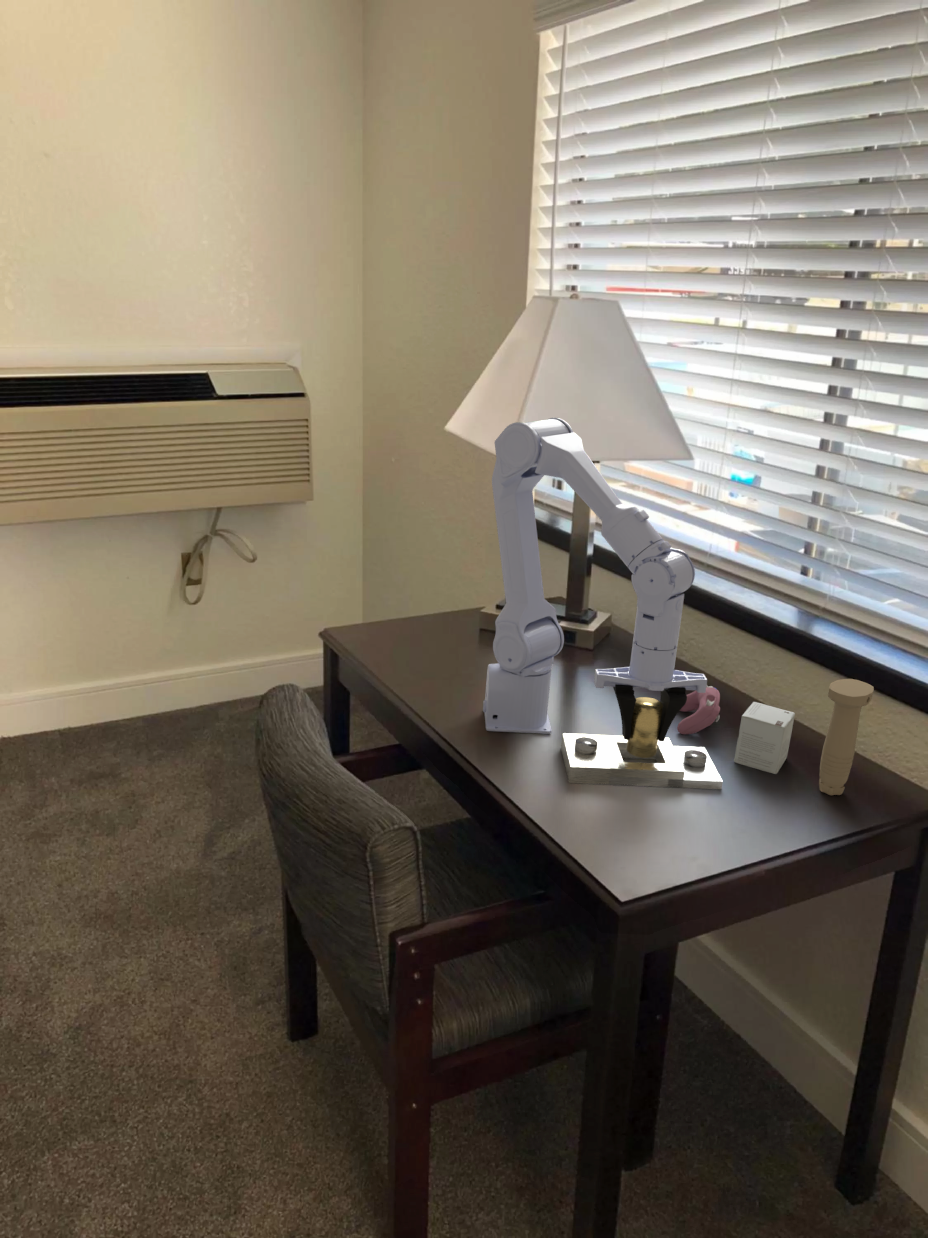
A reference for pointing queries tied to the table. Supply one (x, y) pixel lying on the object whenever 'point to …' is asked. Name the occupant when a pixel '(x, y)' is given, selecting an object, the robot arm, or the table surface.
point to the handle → (842, 733)
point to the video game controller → (700, 710)
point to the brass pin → (645, 727)
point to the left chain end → (613, 760)
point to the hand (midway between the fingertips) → (642, 737)
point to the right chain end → (693, 762)
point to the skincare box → (764, 737)
